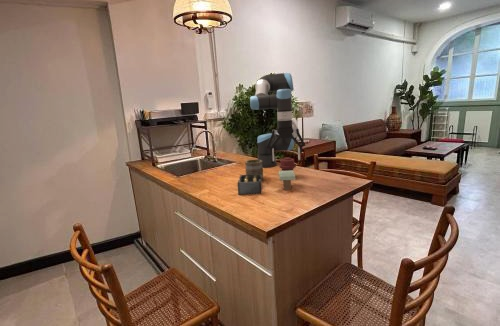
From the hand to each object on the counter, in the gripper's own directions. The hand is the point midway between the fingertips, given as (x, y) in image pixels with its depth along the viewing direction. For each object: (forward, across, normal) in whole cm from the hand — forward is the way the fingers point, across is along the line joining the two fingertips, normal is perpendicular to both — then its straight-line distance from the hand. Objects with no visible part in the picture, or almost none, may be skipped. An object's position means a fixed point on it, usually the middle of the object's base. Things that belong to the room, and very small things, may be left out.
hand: (286, 160), depth 145 cm
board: (+9, 0, 0) cm, 9 cm away
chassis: (+15, -20, -1) cm, 25 cm away
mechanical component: (+15, +2, +20) cm, 26 cm away
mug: (+15, -18, +19) cm, 31 cm away
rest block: (+15, 0, 0) cm, 15 cm away
